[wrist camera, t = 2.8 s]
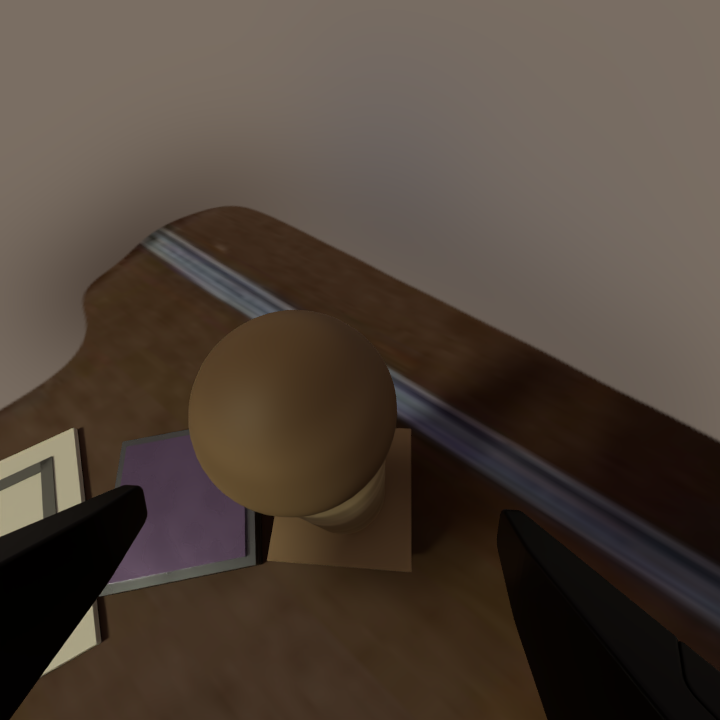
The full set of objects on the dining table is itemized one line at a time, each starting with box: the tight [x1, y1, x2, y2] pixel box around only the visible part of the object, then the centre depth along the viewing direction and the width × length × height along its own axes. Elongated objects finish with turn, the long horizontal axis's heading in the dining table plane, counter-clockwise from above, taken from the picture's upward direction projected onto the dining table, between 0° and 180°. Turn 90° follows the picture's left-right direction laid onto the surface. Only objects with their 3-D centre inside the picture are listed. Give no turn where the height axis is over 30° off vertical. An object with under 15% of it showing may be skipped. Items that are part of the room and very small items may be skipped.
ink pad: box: [99, 429, 262, 597], centre depth 17 cm, size 7×7×1 cm
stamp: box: [189, 310, 411, 572], centre depth 11 cm, size 6×6×14 cm
